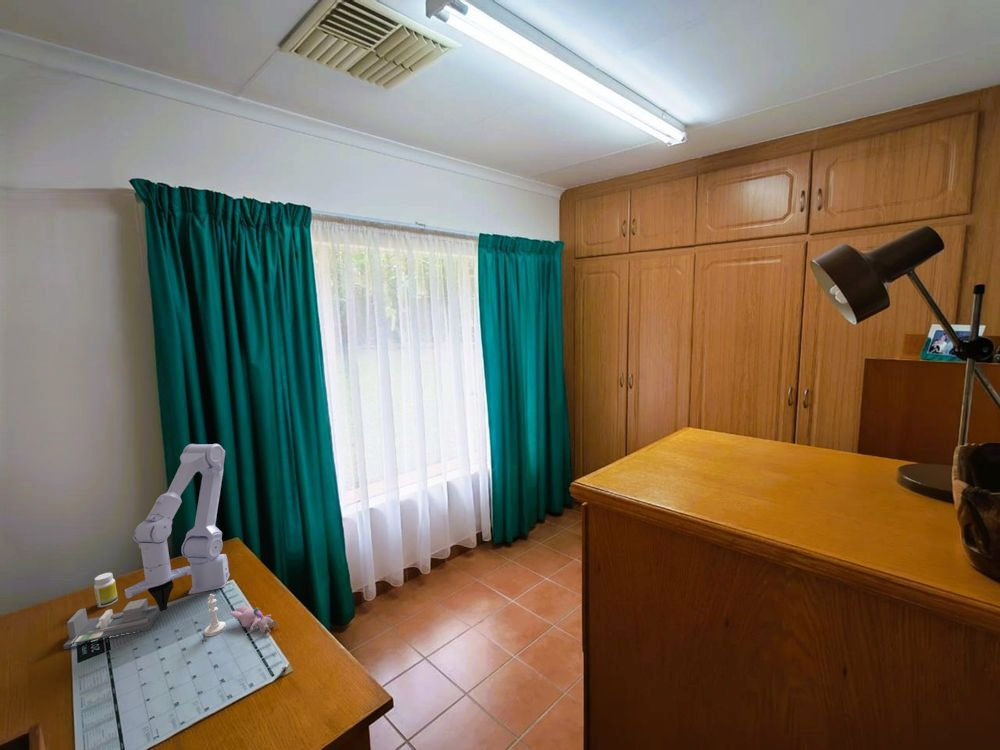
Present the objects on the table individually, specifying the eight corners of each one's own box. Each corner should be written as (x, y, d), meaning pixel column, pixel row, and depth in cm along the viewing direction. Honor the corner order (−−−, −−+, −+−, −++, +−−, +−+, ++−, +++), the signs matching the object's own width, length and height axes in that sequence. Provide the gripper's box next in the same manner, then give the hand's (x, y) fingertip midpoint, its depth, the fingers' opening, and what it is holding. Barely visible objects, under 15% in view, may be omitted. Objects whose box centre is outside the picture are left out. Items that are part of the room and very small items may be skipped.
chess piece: (230, 626, 119) (226, 590, 118) (212, 638, 115) (207, 601, 114) (218, 621, 121) (214, 587, 120) (200, 633, 117) (195, 597, 116)
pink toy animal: (283, 628, 120) (243, 609, 125) (284, 608, 119) (243, 590, 124) (263, 644, 114) (222, 623, 119) (264, 623, 113) (222, 603, 118)
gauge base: (164, 606, 130) (161, 588, 129) (149, 629, 120) (146, 610, 119) (86, 623, 124) (83, 604, 123) (63, 649, 114) (60, 628, 113)
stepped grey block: (148, 611, 126) (146, 598, 125) (142, 620, 122) (140, 607, 121) (115, 618, 123) (113, 605, 123) (108, 627, 119) (106, 614, 119)
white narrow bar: (113, 618, 123) (112, 608, 123) (100, 634, 116) (99, 624, 116) (108, 619, 123) (106, 610, 122) (95, 636, 116) (93, 625, 116)
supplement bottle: (122, 598, 135) (118, 571, 134) (107, 608, 130) (103, 580, 130) (107, 598, 136) (103, 571, 135) (92, 607, 131) (88, 580, 130)
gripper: (183, 548, 132) (188, 591, 133) (119, 570, 121) (126, 617, 122) (191, 555, 127) (196, 600, 129) (125, 578, 116) (133, 627, 117)
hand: (163, 609), depth 125 cm, fingers closed
